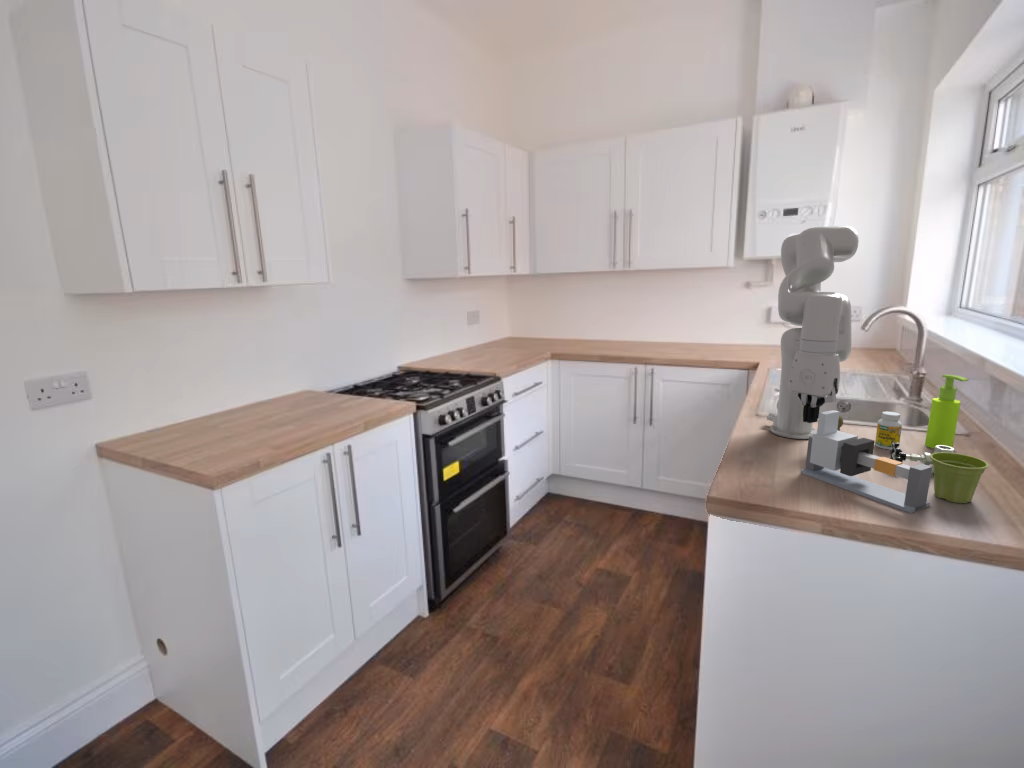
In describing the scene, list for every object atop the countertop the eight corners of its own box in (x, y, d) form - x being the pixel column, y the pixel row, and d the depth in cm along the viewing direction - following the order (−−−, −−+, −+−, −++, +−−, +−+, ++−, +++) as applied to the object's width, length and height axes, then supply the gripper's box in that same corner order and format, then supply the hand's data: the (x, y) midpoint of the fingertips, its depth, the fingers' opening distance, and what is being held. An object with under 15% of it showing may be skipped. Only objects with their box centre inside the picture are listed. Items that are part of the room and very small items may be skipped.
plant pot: (934, 504, 108) (940, 465, 106) (917, 486, 117) (923, 450, 115) (990, 510, 105) (998, 470, 103) (968, 491, 114) (975, 454, 112)
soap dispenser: (944, 452, 137) (957, 378, 132) (919, 444, 143) (930, 373, 139) (962, 450, 138) (975, 377, 133) (936, 442, 144) (948, 372, 140)
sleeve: (809, 462, 123) (815, 413, 121) (829, 457, 126) (835, 409, 124) (834, 470, 118) (840, 419, 115) (854, 465, 121) (860, 415, 118)
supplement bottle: (900, 446, 142) (905, 412, 140) (896, 451, 138) (902, 417, 136) (876, 442, 145) (881, 409, 143) (872, 447, 142) (877, 413, 140)
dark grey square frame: (840, 472, 117) (843, 442, 115) (859, 467, 120) (863, 437, 118) (850, 476, 115) (854, 445, 113) (870, 470, 118) (874, 440, 116)
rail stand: (800, 472, 126) (804, 437, 124) (819, 467, 129) (823, 433, 127) (910, 513, 105) (916, 471, 103) (929, 505, 107) (936, 465, 106)
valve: (946, 469, 126) (887, 463, 131) (951, 444, 124) (891, 438, 129) (956, 480, 120) (893, 472, 125) (960, 453, 118) (897, 446, 123)
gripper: (779, 344, 127) (772, 416, 131) (839, 352, 114) (829, 432, 117) (799, 342, 130) (792, 412, 134) (860, 349, 117) (850, 427, 121)
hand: (810, 421), depth 126 cm, fingers closed
